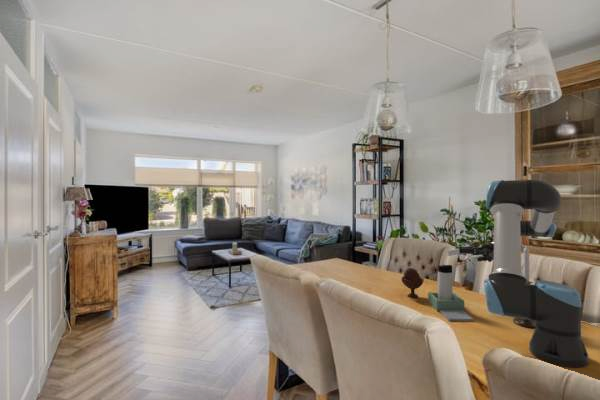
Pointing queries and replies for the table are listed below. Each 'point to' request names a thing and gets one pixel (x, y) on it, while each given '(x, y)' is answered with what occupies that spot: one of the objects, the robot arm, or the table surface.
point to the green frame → (445, 302)
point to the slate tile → (456, 315)
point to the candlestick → (521, 321)
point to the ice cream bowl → (412, 281)
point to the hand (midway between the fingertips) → (459, 256)
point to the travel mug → (445, 282)
